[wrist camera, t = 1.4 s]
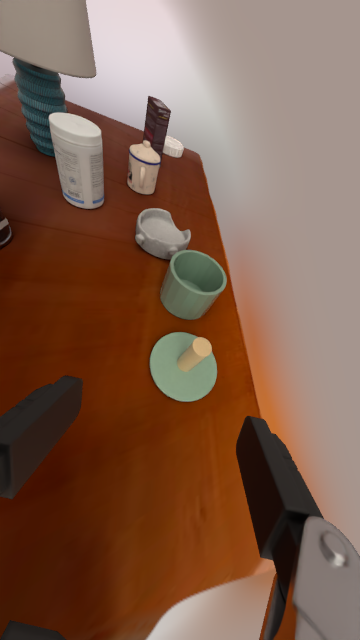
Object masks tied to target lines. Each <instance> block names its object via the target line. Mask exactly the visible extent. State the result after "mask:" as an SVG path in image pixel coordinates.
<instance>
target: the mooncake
mask: <svg viewBox="0 0 360 640" xmlns="http://www.w3.org/2000/svg"><path fill="white" fill-rule="evenodd" d="M183 149H184V147H183V145H182V144H181V143H180V142H179V141H178V140H175V139H174V138H172V137H170V136H166V138H165V143H164V148H163V153H165V154H167V155H169V156H172V157H176V158H177V157H181V156H182V153H183Z"/></svg>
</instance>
